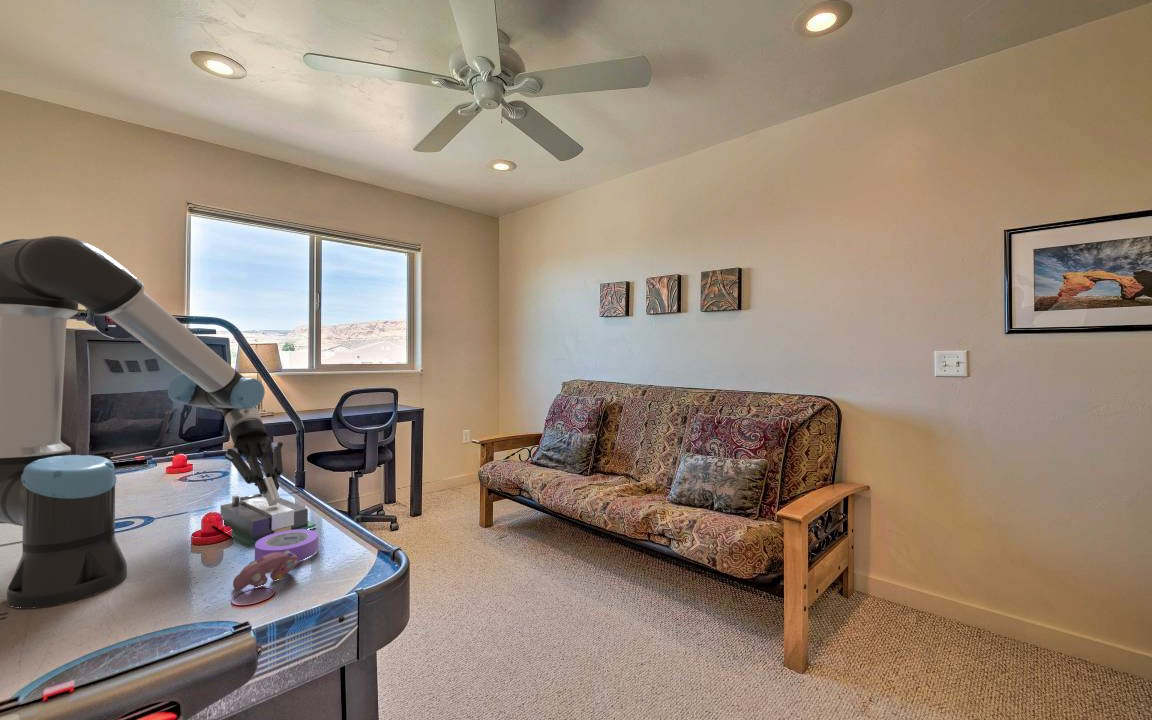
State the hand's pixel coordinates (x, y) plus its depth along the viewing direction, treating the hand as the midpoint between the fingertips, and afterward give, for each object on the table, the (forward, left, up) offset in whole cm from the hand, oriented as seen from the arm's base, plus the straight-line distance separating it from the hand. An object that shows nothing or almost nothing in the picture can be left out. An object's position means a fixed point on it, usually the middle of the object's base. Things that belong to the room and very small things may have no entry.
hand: (274, 502), depth 118 cm
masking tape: (-18, -5, -8) cm, 20 cm away
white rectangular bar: (+4, +2, -5) cm, 6 cm away
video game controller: (-31, -3, -7) cm, 32 cm away
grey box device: (+4, +3, -7) cm, 9 cm away
